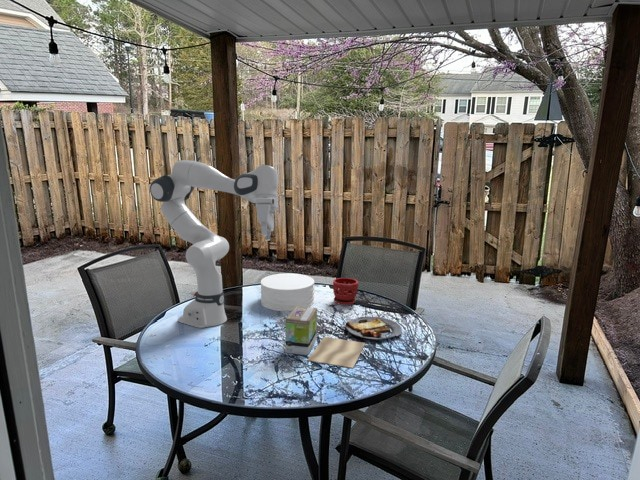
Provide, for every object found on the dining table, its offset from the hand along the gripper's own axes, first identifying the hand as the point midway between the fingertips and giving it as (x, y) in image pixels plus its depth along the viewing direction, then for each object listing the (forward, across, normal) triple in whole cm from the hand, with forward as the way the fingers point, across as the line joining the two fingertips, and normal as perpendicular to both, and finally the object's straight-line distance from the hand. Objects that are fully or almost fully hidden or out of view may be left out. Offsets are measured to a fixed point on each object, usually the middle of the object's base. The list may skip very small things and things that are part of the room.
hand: (265, 238), depth 174 cm
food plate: (+37, -31, +44) cm, 66 cm away
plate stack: (+23, -64, +3) cm, 67 cm away
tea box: (+43, -15, +14) cm, 47 cm away
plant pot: (+23, -64, +33) cm, 76 cm away
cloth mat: (+44, -11, +28) cm, 54 cm away
